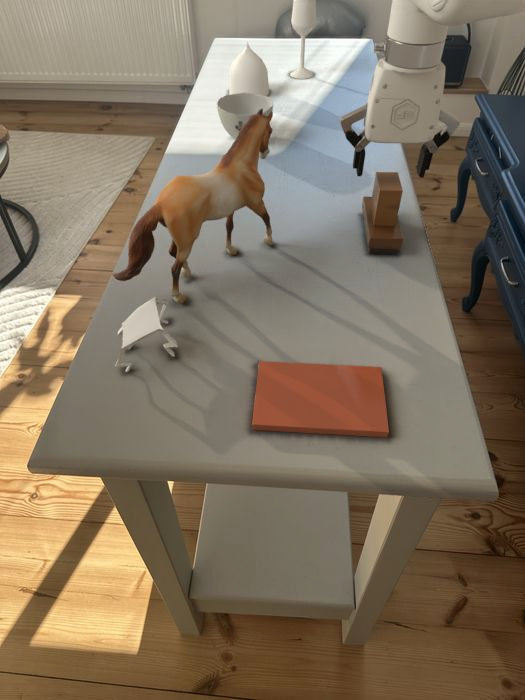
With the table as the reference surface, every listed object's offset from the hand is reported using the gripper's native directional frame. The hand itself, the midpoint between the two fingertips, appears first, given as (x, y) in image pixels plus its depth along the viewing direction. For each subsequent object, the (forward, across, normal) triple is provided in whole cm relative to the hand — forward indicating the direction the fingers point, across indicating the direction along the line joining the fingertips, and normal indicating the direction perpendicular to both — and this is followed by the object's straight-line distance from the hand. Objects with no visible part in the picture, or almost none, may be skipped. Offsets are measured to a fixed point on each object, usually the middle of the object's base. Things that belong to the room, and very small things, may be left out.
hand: (389, 172), depth 77 cm
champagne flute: (+12, -14, +80) cm, 82 cm away
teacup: (+12, -26, +39) cm, 48 cm away
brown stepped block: (+11, 0, 0) cm, 11 cm away
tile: (+11, -11, -37) cm, 40 cm away
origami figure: (+11, -34, -28) cm, 46 cm away
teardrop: (+12, -28, +66) cm, 73 cm away
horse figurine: (+12, -30, -10) cm, 33 cm away
